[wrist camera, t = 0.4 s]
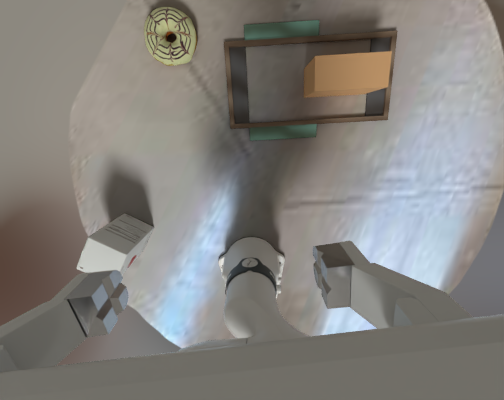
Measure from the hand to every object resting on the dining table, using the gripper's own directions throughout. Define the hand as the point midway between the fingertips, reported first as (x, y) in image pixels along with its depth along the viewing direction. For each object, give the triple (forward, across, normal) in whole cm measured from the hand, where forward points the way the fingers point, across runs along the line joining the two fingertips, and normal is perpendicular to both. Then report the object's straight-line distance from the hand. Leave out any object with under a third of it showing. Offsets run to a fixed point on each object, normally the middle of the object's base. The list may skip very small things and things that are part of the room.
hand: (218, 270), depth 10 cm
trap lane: (+51, +17, +11) cm, 55 cm away
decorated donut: (+53, -12, +23) cm, 59 cm away
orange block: (+51, +23, +10) cm, 57 cm away
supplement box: (+51, -33, -21) cm, 64 cm away
